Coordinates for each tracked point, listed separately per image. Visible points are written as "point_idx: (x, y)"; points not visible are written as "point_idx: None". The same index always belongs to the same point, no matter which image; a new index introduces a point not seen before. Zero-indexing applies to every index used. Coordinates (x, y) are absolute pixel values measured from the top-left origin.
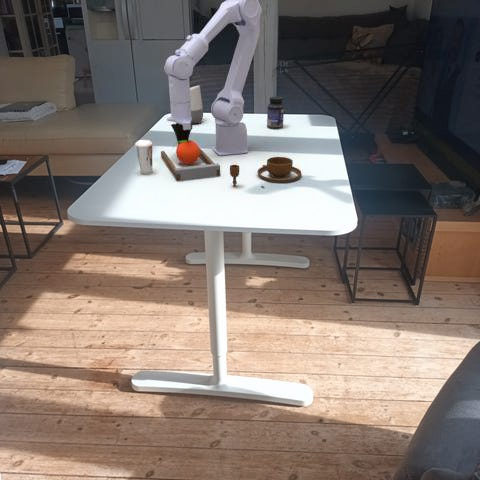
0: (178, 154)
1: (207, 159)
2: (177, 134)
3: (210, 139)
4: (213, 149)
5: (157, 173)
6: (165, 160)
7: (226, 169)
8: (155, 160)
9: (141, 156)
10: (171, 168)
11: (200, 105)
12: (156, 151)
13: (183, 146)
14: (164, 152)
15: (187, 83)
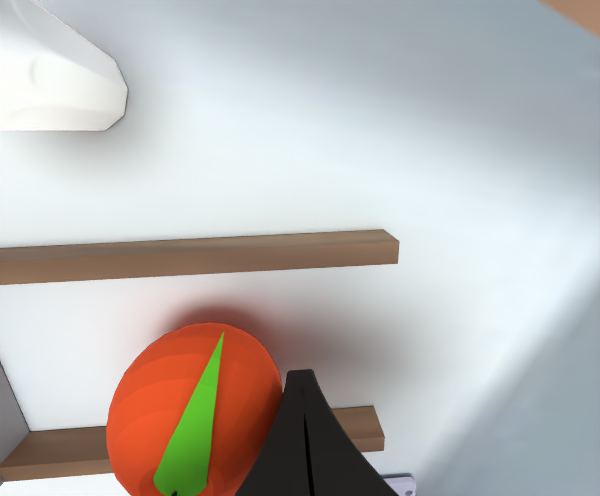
0: (154, 346)
1: None
2: (243, 484)
3: (571, 487)
4: (388, 483)
5: (65, 160)
6: (232, 244)
7: (100, 480)
8: (339, 186)
9: None
10: (27, 256)
11: None
12: (521, 218)
13: (119, 429)
14: (357, 261)
15: None
